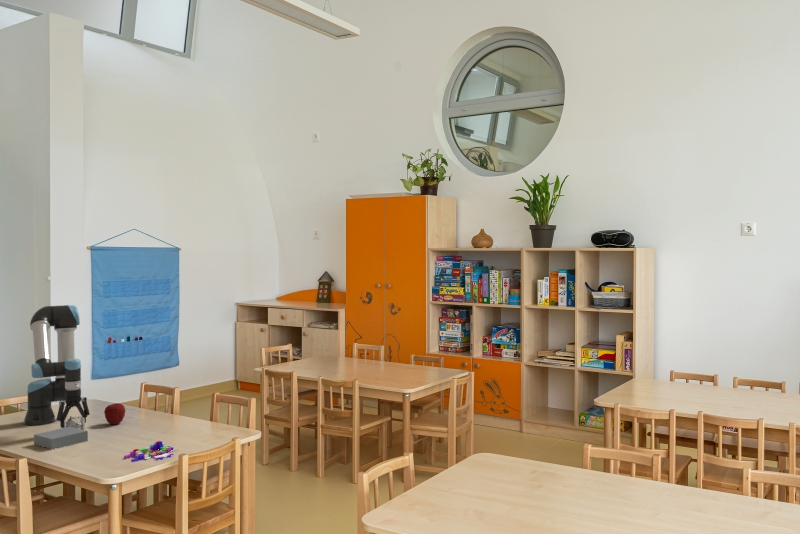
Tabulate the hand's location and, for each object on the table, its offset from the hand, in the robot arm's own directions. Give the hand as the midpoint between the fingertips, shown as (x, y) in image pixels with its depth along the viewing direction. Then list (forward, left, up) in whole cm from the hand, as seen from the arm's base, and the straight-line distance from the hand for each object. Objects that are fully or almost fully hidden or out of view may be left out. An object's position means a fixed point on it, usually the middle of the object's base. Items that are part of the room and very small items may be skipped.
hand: (73, 431), depth 343 cm
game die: (0, 0, 0) cm, 0 cm away
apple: (+3, +22, 0) cm, 22 cm away
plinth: (+15, -15, 0) cm, 21 cm away
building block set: (+71, -2, -1) cm, 71 cm away
